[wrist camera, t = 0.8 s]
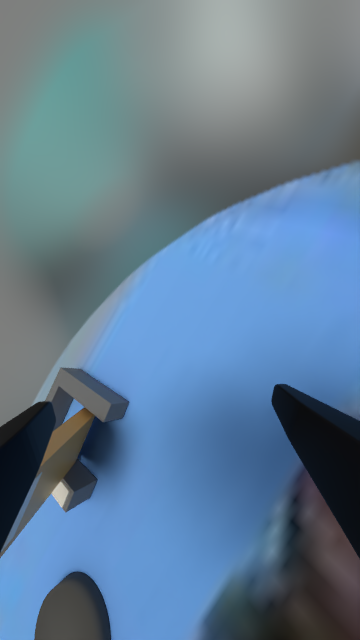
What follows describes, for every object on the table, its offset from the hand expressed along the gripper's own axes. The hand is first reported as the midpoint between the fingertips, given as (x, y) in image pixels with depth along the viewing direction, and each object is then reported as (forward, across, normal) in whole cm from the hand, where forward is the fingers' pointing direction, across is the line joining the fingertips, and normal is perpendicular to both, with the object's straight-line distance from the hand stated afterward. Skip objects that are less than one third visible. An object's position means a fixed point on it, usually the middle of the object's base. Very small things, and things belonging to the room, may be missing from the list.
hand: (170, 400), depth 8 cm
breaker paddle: (+13, +10, +15) cm, 22 cm away
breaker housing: (+14, +10, +16) cm, 24 cm away
